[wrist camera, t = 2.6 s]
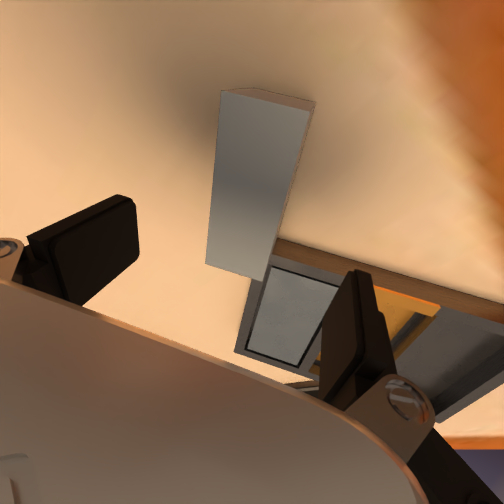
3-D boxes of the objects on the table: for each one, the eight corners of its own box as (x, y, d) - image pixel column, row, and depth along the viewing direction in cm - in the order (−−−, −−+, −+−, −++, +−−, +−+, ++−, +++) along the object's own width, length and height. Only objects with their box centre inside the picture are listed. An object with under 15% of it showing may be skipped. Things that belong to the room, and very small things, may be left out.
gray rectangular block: (254, 87, 16) (221, 90, 11) (316, 102, 16) (309, 111, 11) (232, 223, 22) (205, 263, 17) (277, 236, 21) (262, 281, 17)
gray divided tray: (265, 234, 21) (258, 252, 19) (541, 316, 19) (569, 346, 17) (240, 333, 30) (232, 354, 27) (431, 398, 28) (441, 426, 25)
